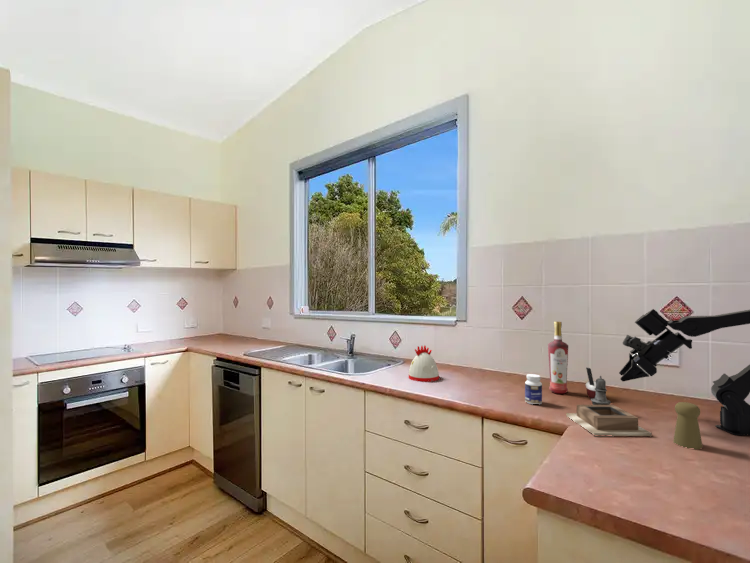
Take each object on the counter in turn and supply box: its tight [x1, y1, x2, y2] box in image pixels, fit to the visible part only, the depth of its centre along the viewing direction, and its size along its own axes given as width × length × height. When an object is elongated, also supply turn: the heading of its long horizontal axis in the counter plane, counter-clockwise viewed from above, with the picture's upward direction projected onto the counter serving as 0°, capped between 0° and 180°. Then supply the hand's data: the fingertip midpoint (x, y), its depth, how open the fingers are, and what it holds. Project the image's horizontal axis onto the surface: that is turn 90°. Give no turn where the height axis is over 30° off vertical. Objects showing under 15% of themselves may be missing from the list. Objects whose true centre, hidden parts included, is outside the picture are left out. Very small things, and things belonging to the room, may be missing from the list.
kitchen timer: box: [408, 344, 440, 383], centre depth 172 cm, size 14×14×15 cm
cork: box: [672, 401, 704, 450], centre depth 100 cm, size 6×6×11 cm
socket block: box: [565, 404, 652, 438], centre depth 113 cm, size 16×16×4 cm
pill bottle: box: [524, 373, 543, 405], centre depth 135 cm, size 6×6×10 cm
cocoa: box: [585, 367, 596, 400], centre depth 140 cm, size 10×6×12 cm, turn 98°
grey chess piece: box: [590, 375, 612, 405], centre depth 126 cm, size 6×6×12 cm
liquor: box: [547, 321, 569, 395], centre depth 148 cm, size 7×7×28 cm
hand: (620, 377), depth 123 cm, fingers open, 9 cm apart
